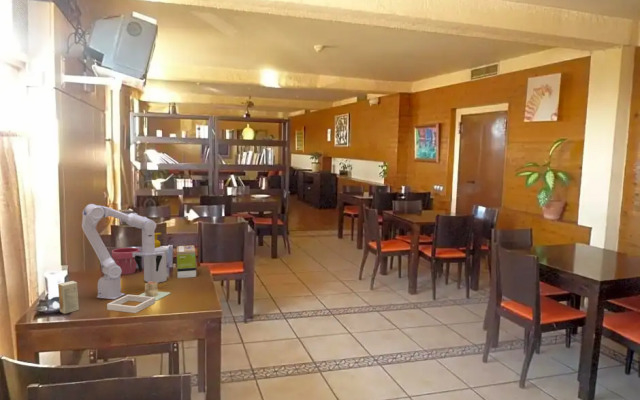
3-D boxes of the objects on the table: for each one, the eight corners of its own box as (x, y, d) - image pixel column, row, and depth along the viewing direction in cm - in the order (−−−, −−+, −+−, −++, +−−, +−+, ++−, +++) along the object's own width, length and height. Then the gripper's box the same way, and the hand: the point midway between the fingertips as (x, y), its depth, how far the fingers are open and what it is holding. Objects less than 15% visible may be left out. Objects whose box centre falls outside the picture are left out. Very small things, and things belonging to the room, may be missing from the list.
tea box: (176, 271, 265) (176, 245, 263) (195, 270, 268) (194, 244, 266) (177, 278, 251) (176, 251, 249) (196, 277, 254) (196, 250, 252)
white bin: (107, 309, 200) (107, 304, 200) (128, 299, 214) (128, 294, 214) (135, 313, 197) (135, 307, 197) (155, 302, 210) (155, 297, 210)
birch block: (145, 296, 218) (144, 283, 217) (150, 293, 222) (150, 281, 221) (152, 297, 217) (152, 284, 216) (157, 294, 221) (157, 281, 220)
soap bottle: (167, 281, 245) (166, 233, 242) (151, 284, 238) (150, 235, 235) (159, 277, 251) (158, 231, 248) (143, 281, 244) (142, 233, 241)
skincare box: (74, 308, 202) (73, 280, 201) (79, 310, 199) (78, 282, 198) (58, 311, 197) (57, 283, 196) (63, 314, 194) (62, 285, 193)
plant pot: (135, 268, 270) (134, 246, 269) (143, 273, 259) (143, 250, 258) (109, 271, 261) (108, 249, 260) (116, 277, 250) (116, 253, 249)
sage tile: (133, 298, 216) (132, 297, 216) (148, 291, 227) (148, 290, 227) (155, 301, 213) (155, 300, 213) (170, 293, 224) (170, 292, 224)
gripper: (130, 245, 222) (131, 273, 223) (162, 244, 224) (163, 272, 226) (133, 242, 229) (134, 269, 230) (164, 242, 231) (165, 269, 233)
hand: (149, 271), depth 228 cm, fingers open, 7 cm apart
